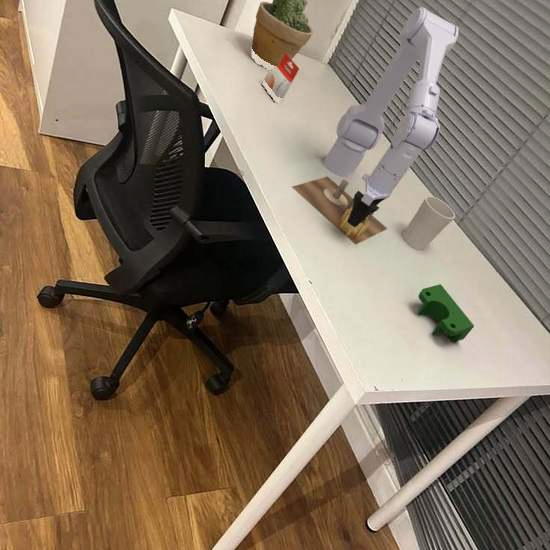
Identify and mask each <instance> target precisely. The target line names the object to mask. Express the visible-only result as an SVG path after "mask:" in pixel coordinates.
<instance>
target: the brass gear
mask: <svg viewBox="0 0 550 550" xmlns="http://www.w3.org/2000/svg"><path fill="white" fill-rule="evenodd" d="M352 208H353V207H351V208H350V209H347V210H346V211H345V213H344V214H343V216H342V217H341V219H340V220H339V222H338V224H339V226H340V227H339V229H340V230H342V231H343V232H344V233H345V234H346V235H347V236H351V237H354V238H355V239H357V238H358V236H359V237H360V236H361V235H362V234H363V232H364V231H365V229H366V228H367V227H368V225H369V224H370V222H369V220H368V216H367V217H366V218H365V219H364V220H363V221H362V222H361V223H360V224H359V225H358V226H356V227H353V226H352V225H350V224H349V223H348V222H347V221H348V218H349V216H350V213H351V211H352ZM339 229H338V230H339ZM340 230H339V231H340ZM346 235H345V236H346ZM347 236H346V237H347Z"/></svg>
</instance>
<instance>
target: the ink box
mask: <svg viewBox="0 0 550 550" xmlns="http://www.w3.org/2000/svg"><path fill="white" fill-rule="evenodd" d="M287 61H289V63H291V66H292V67H291V66H290V65H289V63H288V64H287ZM299 70H300V68H299V67H298V66H297V64H296V63H295V62H294V61H293V59H292V60H291V59H290V58H289V56H288V55H287V54H286V53H285V54H284V56H283V59H282V61H281V63H280V64H279V65H278V66H276V67H274V68H273V69H271V70H270V71H269V70H268V71H267V74H266V75H265V77H264V80H265V82H266V83H267V84H268V86H269V87H270V88H271V89H272V91H273V92H274V93H275V95H276V96H277V97H280V98H283V99H284V98H285V96H286V94H287V93H288V91H289V89H290V87H291V86H292V84H293V81H294V80H295V78H296V76H297V74H298V72H299ZM264 80H263V81H264Z"/></svg>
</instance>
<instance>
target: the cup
mask: <svg viewBox="0 0 550 550" xmlns="http://www.w3.org/2000/svg"><path fill="white" fill-rule="evenodd" d="M455 218H456V214H455V212H454V210H453V209H452V208H451V207H450V206H449V205H448V204H447V203H446V202H445V201H443V200H441V199H440V198H438V197H435V196H433V195H427V196H425V198H424V200H423V202H422V203H421V204H420V206H419V207H418V210H417V212H416V213H415V214H414V216H413V217H412V219H411V221H410V222H409V223H408V225H407V227H406V228H405V229H404V231H403V232H402V234H401V236H402V239H403V241H404V242H405V243H406V244H407V245H408V246H410V248H412V249H414V250H416V251H419V252H420V251H424V250H425V249H426V248H427V247H428V246H429V244H430V243H431V242H432V241H433V240H435V239H436V237H438V236H439V234H440V233H441V232H442V231H443V230H444V229H445V228H446V227H447V226H448V225H449V224H450V223H451V222H452V221H453V220H454V219H455Z"/></svg>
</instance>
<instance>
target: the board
mask: <svg viewBox="0 0 550 550" xmlns="http://www.w3.org/2000/svg"><path fill="white" fill-rule="evenodd" d="M348 185H349V181H347V179H342V181H341V182H340V183H339V185H338V184H337V183H336V182H335V181H333V180H332V179H331V178H330V177H328V176H324V177H322V178H318V179H313V180H310V181H307V182H304V183H301V184H296V185H293V186H291V188H292V189H293V190H295V191H296V193H298V194H299V195H300V196H301V197H302V199H303V200H305V201H306V202H308V203H309V204H310V205H311V206H312V207H313V208H314V209H316V211H318V212H319V213H320V214H321V215H322V216H323V217H324V218H325V219H326V220H327V221H329V222H330V223H331V224H332V225H333V226H334V227H336V229H338V230H339V231H340V232H341V233H342V234H343V235H344V236H345V237H347V238H348V239H349V240H350V241H351V242H352V243H353V244H355V245H358V244H360V243H362V242H364V241H366V240H368V239H370V238H372V237H375V236H376V235H378V234H380V233H382V232H384V231H386V230H388V227H387V226H385V224H383V223H382V222H381V221H379V220H378V219H377V218H376V217H375V216H374V214H373V215H372V216H371V217H370V219H369V222H370V224H369V225H368V227H367V228H366V229H365V231H364V232H363V234H362V235H361V236H360V237H359V236H358V238H357V239H355V238H354V237H351V236H347V235H346V234H345V233H344V232H343V231H342V230H340V229H339V227H340V226H339V224H338V222H339V220H340V219H341V217H342V216H343V214H344V213H345V211H346V208H347V207H348V205H349V204H350V202H351V201H352V199H353V198H354V197H351V195H350V194H349V193H347V191H346V190H345V189H346V188H347V186H348Z"/></svg>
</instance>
